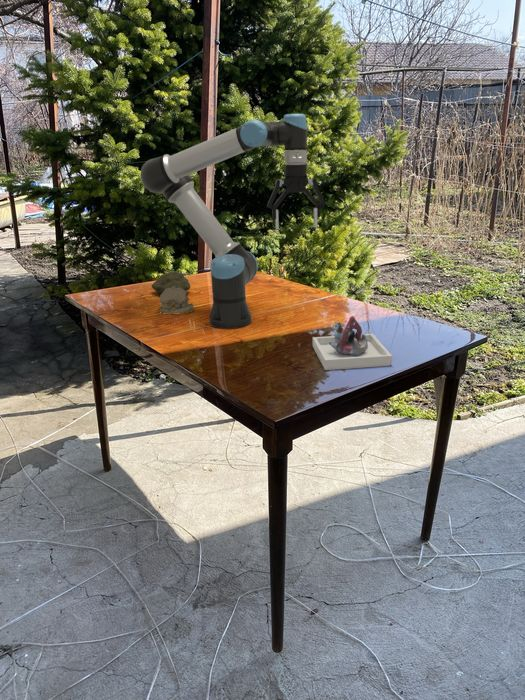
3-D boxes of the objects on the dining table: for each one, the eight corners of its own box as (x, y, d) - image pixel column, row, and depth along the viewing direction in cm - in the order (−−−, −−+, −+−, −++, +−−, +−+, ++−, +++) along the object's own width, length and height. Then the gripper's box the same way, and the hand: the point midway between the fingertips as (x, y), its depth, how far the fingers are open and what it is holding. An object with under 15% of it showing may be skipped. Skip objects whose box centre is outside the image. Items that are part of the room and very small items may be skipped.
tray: (325, 370, 147) (325, 360, 146) (312, 346, 164) (312, 337, 163) (391, 365, 148) (392, 355, 147) (372, 342, 166) (372, 333, 165)
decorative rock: (162, 300, 221) (159, 277, 217) (149, 292, 234) (147, 270, 230) (194, 294, 228) (193, 272, 224) (181, 287, 241) (179, 265, 237)
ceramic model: (155, 315, 201) (152, 290, 198) (161, 307, 212) (158, 282, 208) (191, 314, 201) (189, 289, 197) (196, 306, 211) (194, 282, 208)
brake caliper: (360, 354, 148) (339, 317, 149) (334, 369, 156) (314, 333, 157) (380, 343, 156) (360, 308, 157) (354, 357, 164) (335, 324, 165)
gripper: (259, 165, 173) (262, 231, 181) (334, 162, 175) (333, 227, 183) (258, 165, 180) (260, 228, 188) (329, 162, 182) (328, 224, 189)
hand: (296, 228), depth 185 cm, fingers open, 13 cm apart
